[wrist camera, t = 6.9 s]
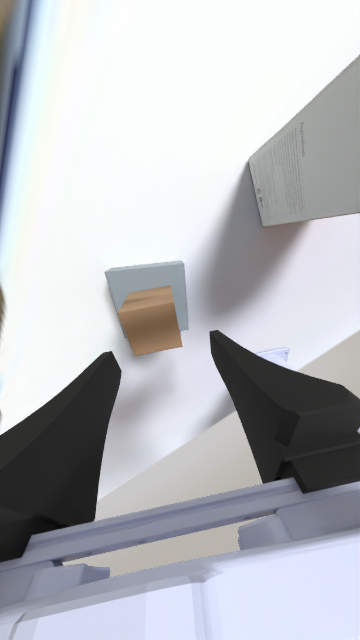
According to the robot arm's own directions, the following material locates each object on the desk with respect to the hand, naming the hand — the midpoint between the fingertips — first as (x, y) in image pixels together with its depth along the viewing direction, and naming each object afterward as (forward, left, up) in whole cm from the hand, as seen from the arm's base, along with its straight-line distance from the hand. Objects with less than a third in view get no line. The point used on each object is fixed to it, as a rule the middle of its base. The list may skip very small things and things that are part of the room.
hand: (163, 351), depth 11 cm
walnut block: (+1, +1, -7) cm, 7 cm away
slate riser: (+1, +1, -10) cm, 11 cm away
